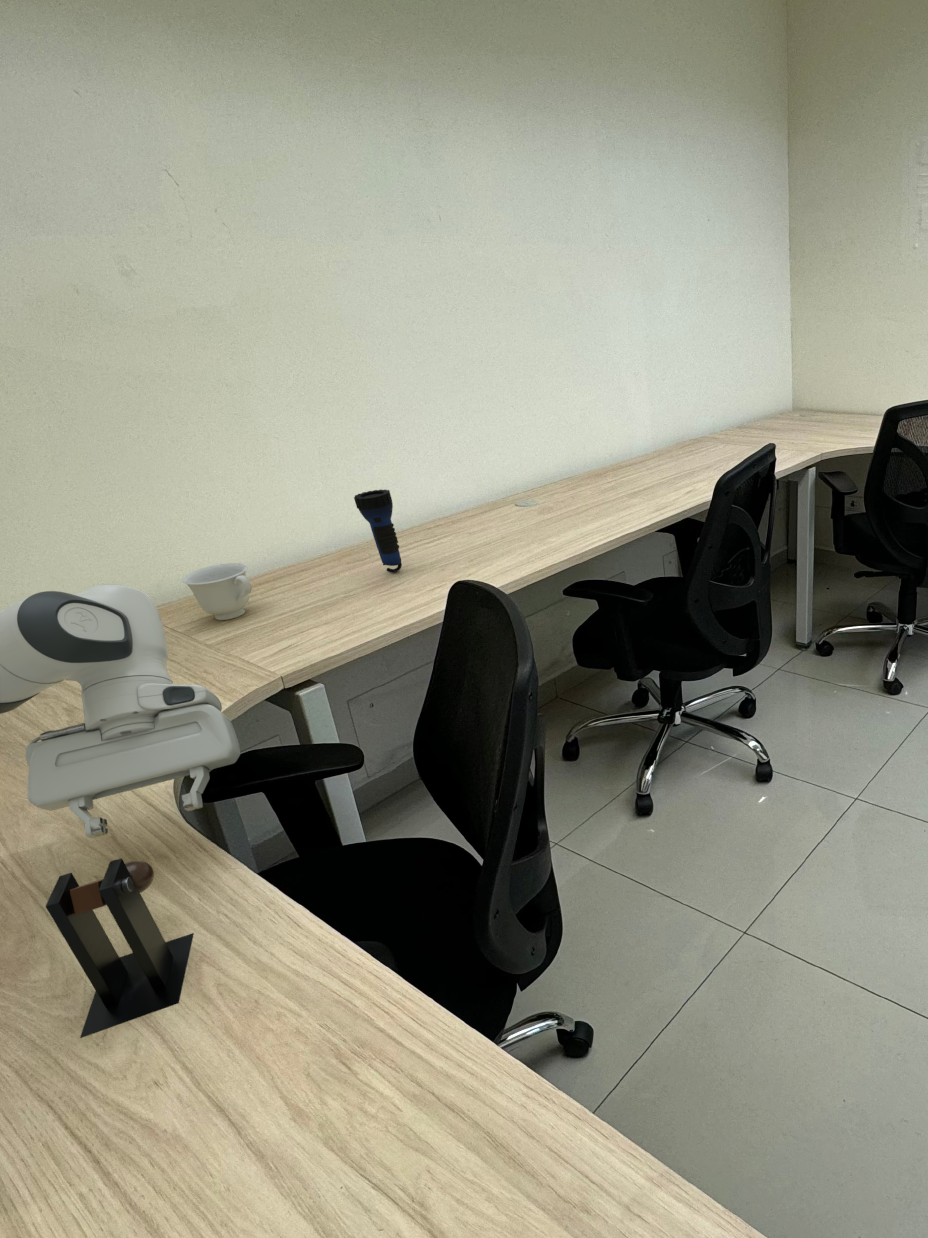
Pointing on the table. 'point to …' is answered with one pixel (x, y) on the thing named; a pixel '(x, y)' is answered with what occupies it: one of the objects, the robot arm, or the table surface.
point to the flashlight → (381, 524)
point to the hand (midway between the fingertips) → (146, 821)
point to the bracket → (117, 980)
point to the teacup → (221, 589)
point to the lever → (89, 893)
